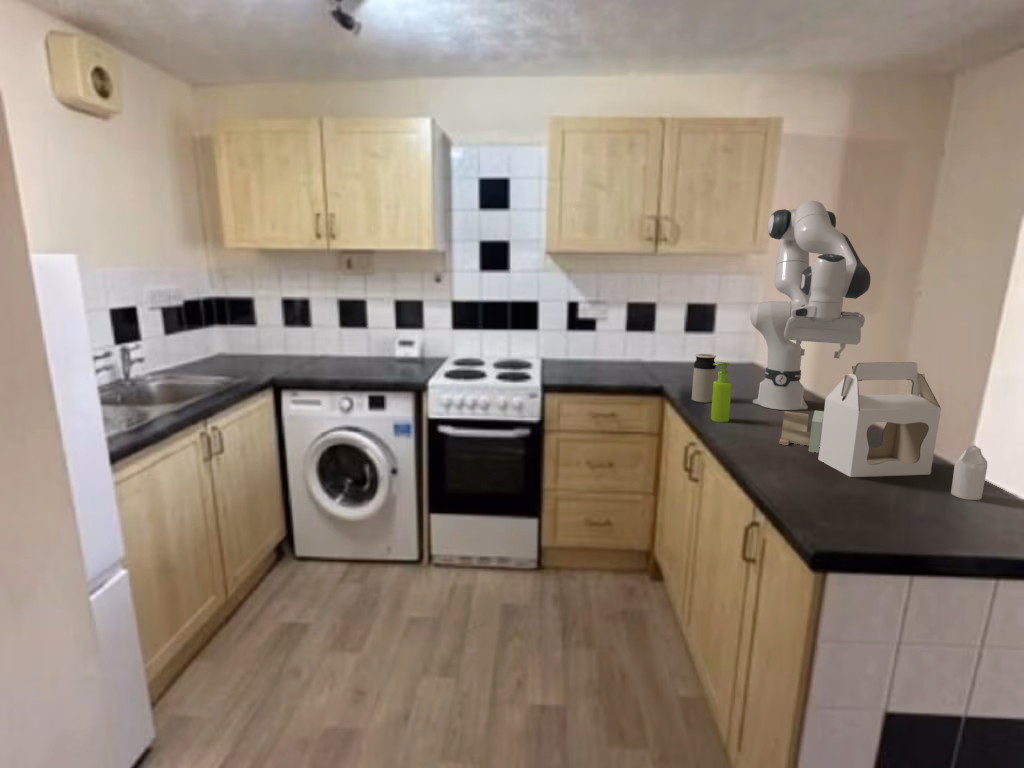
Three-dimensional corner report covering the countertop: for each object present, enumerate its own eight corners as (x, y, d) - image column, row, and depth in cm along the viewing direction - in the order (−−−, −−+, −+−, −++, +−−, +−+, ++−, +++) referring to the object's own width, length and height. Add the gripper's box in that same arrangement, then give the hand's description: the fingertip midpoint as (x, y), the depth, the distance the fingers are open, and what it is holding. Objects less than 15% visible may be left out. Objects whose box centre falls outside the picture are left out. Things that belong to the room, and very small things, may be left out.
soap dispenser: (704, 418, 195) (708, 361, 190) (720, 416, 197) (725, 360, 193) (716, 423, 189) (720, 364, 185) (732, 421, 192) (737, 363, 187)
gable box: (892, 457, 156) (907, 357, 150) (931, 474, 143) (949, 366, 137) (816, 459, 154) (828, 358, 148) (849, 477, 141) (864, 367, 135)
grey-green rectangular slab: (811, 438, 172) (814, 410, 170) (820, 440, 171) (824, 411, 169) (808, 451, 160) (811, 421, 159) (818, 453, 159) (822, 422, 157)
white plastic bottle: (971, 449, 125) (951, 442, 130) (962, 500, 127) (943, 490, 133) (998, 449, 125) (976, 441, 131) (988, 500, 128) (968, 490, 133)
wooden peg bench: (781, 437, 173) (784, 409, 172) (851, 447, 164) (855, 417, 162) (779, 444, 167) (782, 415, 165) (851, 455, 158) (855, 424, 156)
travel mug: (714, 403, 216) (718, 357, 212) (692, 402, 217) (696, 356, 214) (711, 398, 223) (714, 353, 220) (690, 397, 225) (693, 353, 221)
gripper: (865, 311, 164) (858, 357, 168) (788, 308, 174) (783, 351, 178) (865, 313, 159) (858, 361, 162) (785, 310, 169) (781, 355, 172)
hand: (818, 356), depth 170 cm, fingers open, 8 cm apart
